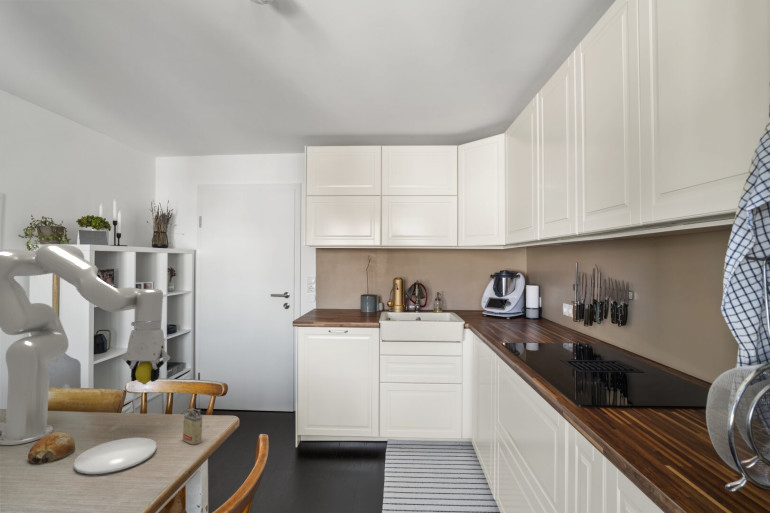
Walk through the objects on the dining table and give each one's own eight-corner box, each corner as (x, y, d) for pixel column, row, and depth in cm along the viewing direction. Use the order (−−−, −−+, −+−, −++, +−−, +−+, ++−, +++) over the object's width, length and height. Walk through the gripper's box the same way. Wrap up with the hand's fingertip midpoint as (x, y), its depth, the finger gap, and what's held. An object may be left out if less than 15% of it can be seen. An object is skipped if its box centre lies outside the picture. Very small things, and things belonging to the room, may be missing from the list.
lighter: (180, 440, 117) (181, 408, 118) (191, 435, 121) (193, 404, 121) (193, 446, 114) (194, 413, 114) (204, 441, 117) (206, 409, 117)
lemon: (144, 387, 120) (146, 362, 120) (130, 386, 121) (131, 361, 121) (158, 382, 125) (159, 359, 125) (144, 381, 126) (145, 357, 127)
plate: (54, 476, 96) (54, 470, 96) (106, 442, 115) (107, 437, 115) (129, 476, 96) (129, 470, 96) (169, 442, 115) (169, 437, 115)
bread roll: (75, 466, 107) (89, 436, 111) (37, 466, 99) (54, 434, 102) (53, 460, 111) (67, 431, 114) (14, 459, 102) (31, 428, 105)
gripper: (114, 326, 120) (110, 383, 119) (168, 328, 120) (164, 384, 120) (129, 323, 127) (126, 376, 126) (179, 324, 128) (177, 377, 127)
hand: (144, 379), depth 123 cm, fingers closed on lemon, 5 cm apart
